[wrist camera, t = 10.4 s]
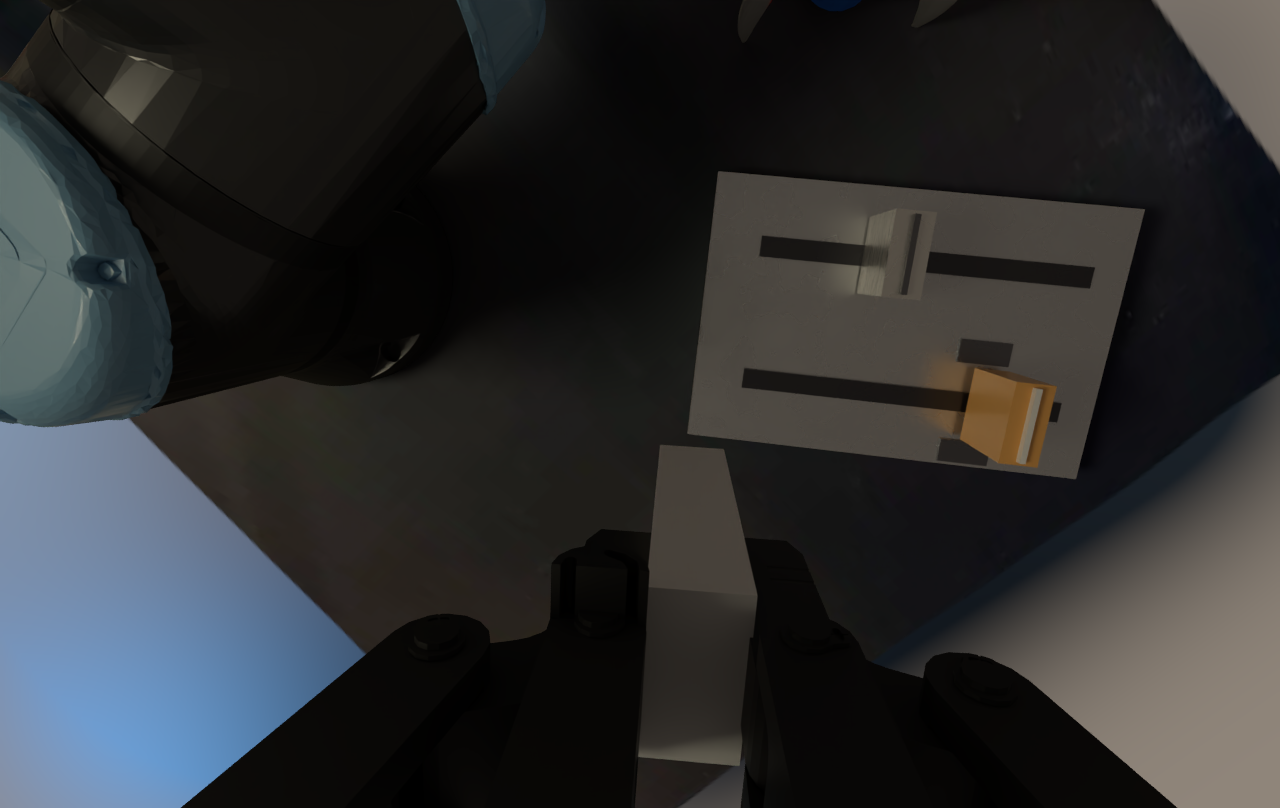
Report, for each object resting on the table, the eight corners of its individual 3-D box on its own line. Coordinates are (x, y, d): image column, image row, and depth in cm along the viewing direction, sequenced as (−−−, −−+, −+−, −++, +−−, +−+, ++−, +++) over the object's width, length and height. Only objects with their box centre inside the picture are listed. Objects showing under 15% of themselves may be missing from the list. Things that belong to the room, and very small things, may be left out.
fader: (959, 439, 38) (1001, 465, 33) (974, 367, 37) (1020, 383, 32) (993, 442, 38) (1041, 470, 33) (1009, 371, 37) (1061, 387, 32)
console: (687, 426, 42) (686, 458, 35) (717, 176, 39) (722, 153, 31) (1057, 469, 41) (1138, 512, 33) (1121, 212, 37) (1227, 197, 30)
